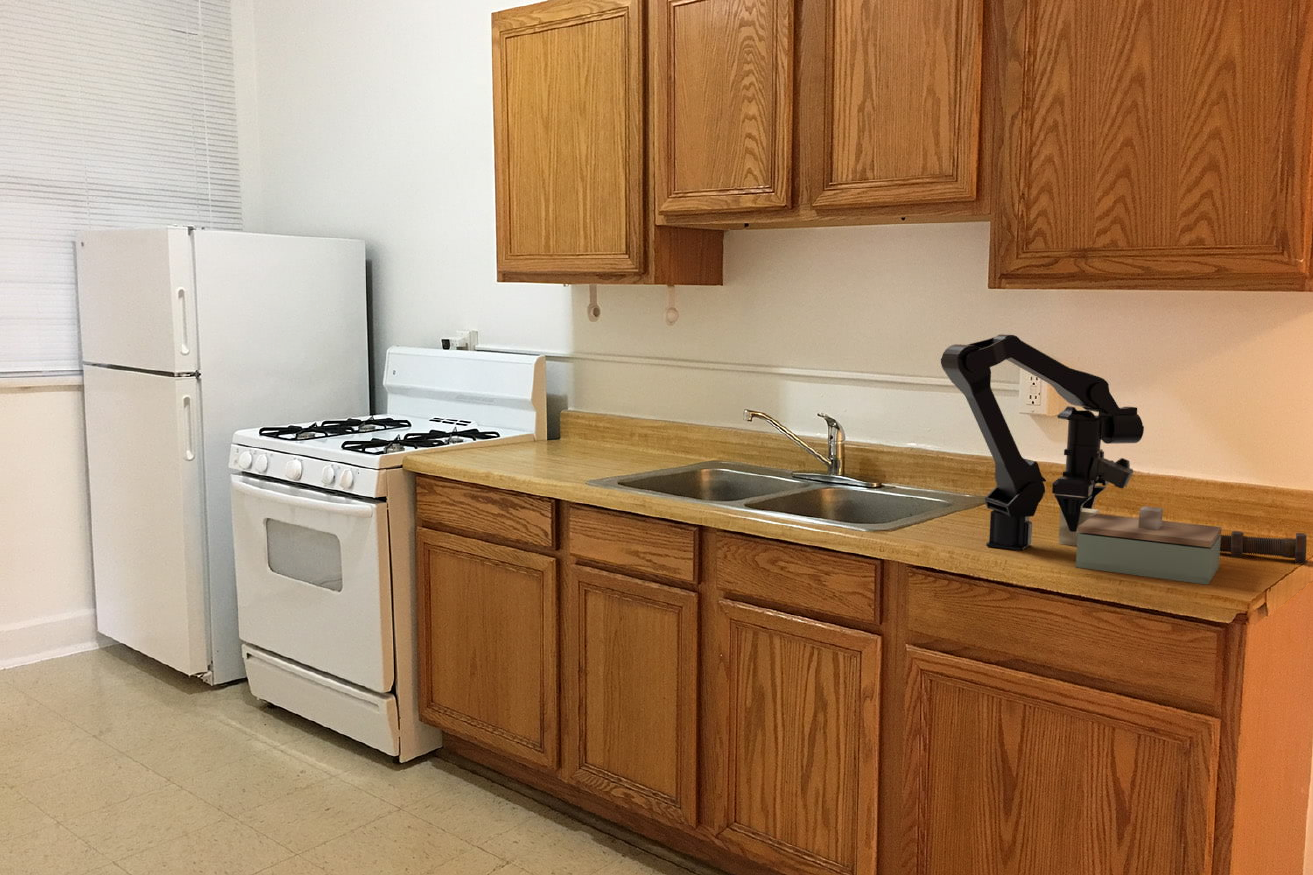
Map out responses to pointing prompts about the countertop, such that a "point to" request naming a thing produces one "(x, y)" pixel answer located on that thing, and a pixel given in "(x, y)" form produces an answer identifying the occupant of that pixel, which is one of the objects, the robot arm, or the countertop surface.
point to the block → (1071, 537)
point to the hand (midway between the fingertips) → (1078, 527)
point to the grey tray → (1148, 557)
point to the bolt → (1265, 546)
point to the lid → (1151, 528)
